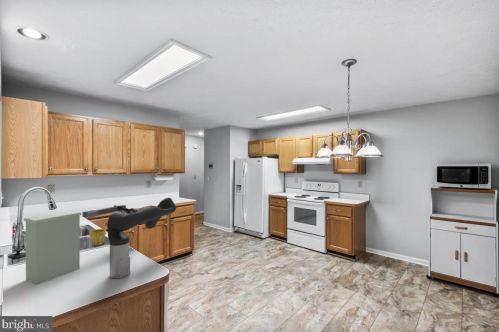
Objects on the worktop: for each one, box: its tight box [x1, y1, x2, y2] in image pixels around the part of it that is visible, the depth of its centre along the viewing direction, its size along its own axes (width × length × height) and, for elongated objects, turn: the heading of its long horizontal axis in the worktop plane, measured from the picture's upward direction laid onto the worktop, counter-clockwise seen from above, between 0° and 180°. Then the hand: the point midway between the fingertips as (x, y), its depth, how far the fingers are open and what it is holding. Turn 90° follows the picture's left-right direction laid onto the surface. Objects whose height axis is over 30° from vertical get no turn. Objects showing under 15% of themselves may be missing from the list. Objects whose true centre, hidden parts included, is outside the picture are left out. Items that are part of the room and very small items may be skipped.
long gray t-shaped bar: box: [81, 204, 127, 219], centre depth 154 cm, size 26×6×3 cm, turn 155°
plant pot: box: [89, 228, 107, 246], centre depth 175 cm, size 10×10×10 cm
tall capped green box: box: [23, 210, 82, 286], centre depth 128 cm, size 21×11×32 cm, turn 155°
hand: (115, 206), depth 160 cm, fingers closed on long gray t-shaped bar, 3 cm apart
